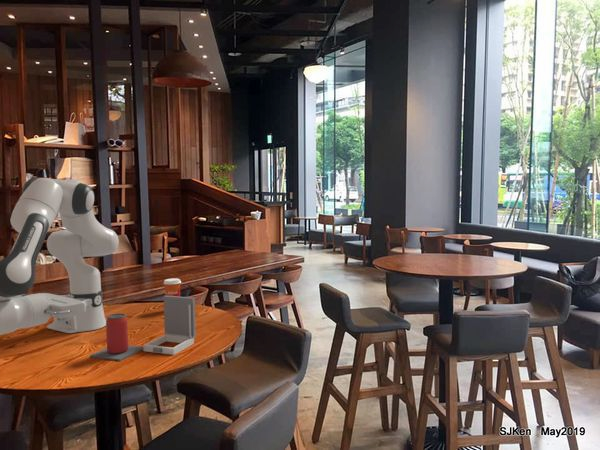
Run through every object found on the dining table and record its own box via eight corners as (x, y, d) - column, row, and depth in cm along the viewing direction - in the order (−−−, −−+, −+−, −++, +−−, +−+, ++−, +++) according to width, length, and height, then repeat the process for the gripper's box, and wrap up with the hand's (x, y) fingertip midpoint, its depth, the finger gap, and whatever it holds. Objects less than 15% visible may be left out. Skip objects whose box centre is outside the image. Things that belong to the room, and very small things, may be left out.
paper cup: (161, 312, 207) (160, 281, 206) (168, 308, 215) (167, 277, 214) (177, 313, 206) (176, 281, 205) (185, 308, 214) (184, 278, 213)
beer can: (122, 355, 152) (120, 318, 151) (103, 354, 153) (101, 318, 152) (132, 348, 158) (130, 313, 157) (113, 347, 159) (112, 312, 158)
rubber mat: (90, 357, 152) (90, 355, 152) (116, 345, 163) (116, 343, 163) (120, 361, 148) (120, 359, 148) (144, 348, 159) (144, 347, 159)
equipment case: (141, 351, 156) (140, 304, 155) (167, 339, 170) (165, 295, 168) (172, 355, 152) (170, 307, 151) (195, 342, 166) (194, 297, 164)
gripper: (56, 303, 127) (101, 293, 138) (16, 294, 138) (62, 285, 149) (57, 326, 127) (102, 314, 139) (18, 315, 138) (63, 304, 150)
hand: (81, 299), depth 144 cm, fingers open, 8 cm apart
